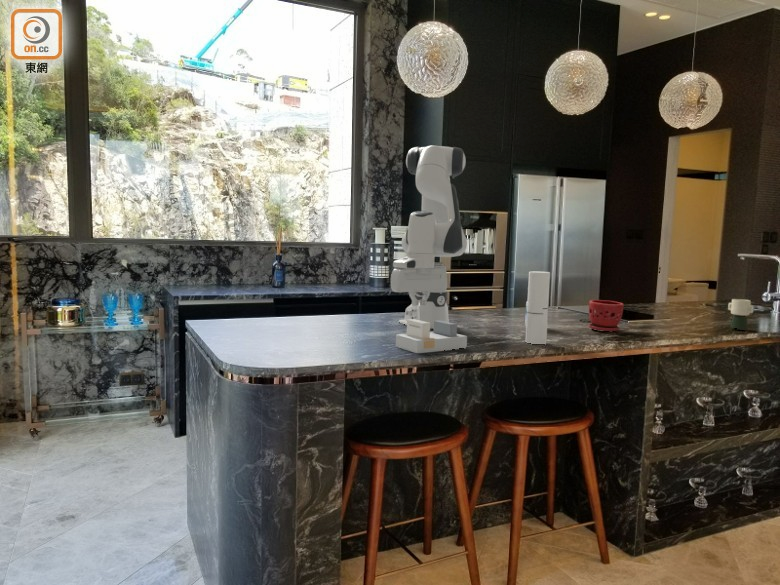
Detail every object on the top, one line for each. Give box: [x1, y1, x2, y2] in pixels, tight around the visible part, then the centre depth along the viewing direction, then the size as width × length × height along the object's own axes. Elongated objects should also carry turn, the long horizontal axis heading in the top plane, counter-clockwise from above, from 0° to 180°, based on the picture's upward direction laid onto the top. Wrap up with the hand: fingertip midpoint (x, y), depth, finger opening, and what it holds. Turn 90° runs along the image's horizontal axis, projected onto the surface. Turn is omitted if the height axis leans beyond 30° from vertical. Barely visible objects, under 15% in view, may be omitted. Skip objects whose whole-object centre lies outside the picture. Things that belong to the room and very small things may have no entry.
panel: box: [406, 319, 431, 339], centre depth 193 cm, size 9×3×8 cm, turn 33°
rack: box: [395, 320, 468, 354], centre depth 196 cm, size 12×20×8 cm, turn 123°
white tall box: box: [524, 270, 551, 345], centre depth 209 cm, size 7×7×25 cm
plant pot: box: [588, 299, 624, 332], centre depth 242 cm, size 13×13×12 cm
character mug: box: [727, 298, 754, 330], centre depth 255 cm, size 11×7×13 cm, turn 27°
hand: (419, 305), depth 192 cm, fingers closed
